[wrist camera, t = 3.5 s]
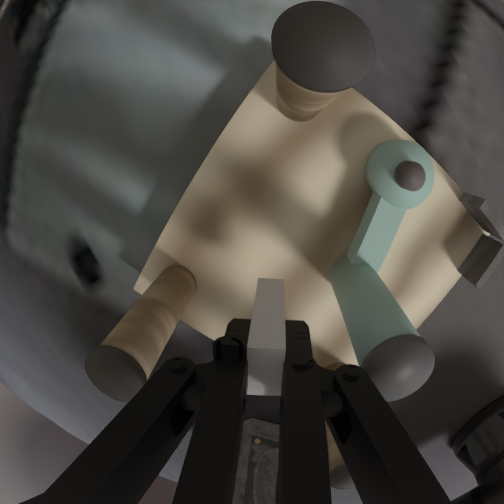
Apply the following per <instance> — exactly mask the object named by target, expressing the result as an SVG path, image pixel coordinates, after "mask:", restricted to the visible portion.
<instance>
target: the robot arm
mask: <svg viewBox="0 0 504 504" xmlns="http://www.w3.org/2000/svg"><path fill="white" fill-rule="evenodd" d="M213 354H214V360H213V361H212V362H209V363H206V364H199V365H194V363H193V361H192V360H190V359H188V358H185V357H174V358H172V359H169V360H168V361H166V362H165V363H164V364H163V365H162V366H161V367H160V369H159V370H158V371H157V372H156V373H155V374H154V375H153V376H152V377H151V378H150V379H149V381H148V382H147V383H146V384H145V385H144V386H143V387H142V388H141V389H140V390H139V391H138V393H137V394H136V395H135V396H134V397H133V398H132V399H131V400H130V401H129V402H128V403H127V405H126V406H125V407H124V408H123V409H122V410H121V411H120V412H119V413H118V414H117V415H116V416H115V418H114V419H113V420H112V421H111V422H110V423H109V424H108V425H107V426H106V427H105V428H104V429H103V431H102V432H101V433H100V434H99V435H98V436H97V437H96V438H95V439H94V440H93V441H92V442H91V443H90V444H89V446H88V447H87V448H86V449H85V450H84V451H83V452H82V453H81V454H80V455H79V456H78V457H77V458H76V459H75V461H74V462H73V463H72V464H71V465H70V466H69V467H68V468H67V469H66V470H65V471H64V472H63V473H62V474H61V476H59V478H58V479H57V480H56V481H55V482H54V483H53V484H52V485H51V486H50V487H49V488H48V489H47V490H46V491H45V492H44V493H43V494H40V495H38V496H36V497H34V498H31V499H29V500H27V501H24V502H22V503H19V504H137V503H138V502H139V501H140V500H141V498H142V497H143V495H144V494H145V493H146V491H147V490H148V488H149V487H150V486H151V484H152V483H153V481H154V480H155V478H156V477H157V476H158V474H159V473H160V471H161V470H162V469H163V467H164V466H165V464H166V463H167V461H168V460H169V458H170V457H171V455H172V454H173V453H174V451H175V450H176V448H177V447H178V445H179V444H180V442H181V441H182V439H183V438H184V436H185V435H186V433H187V432H188V430H189V429H190V427H191V426H192V424H193V423H194V421H195V420H196V422H195V426H194V429H193V433H192V436H191V439H190V443H189V446H188V450H187V453H186V457H185V460H184V464H183V467H182V471H181V474H180V478H179V481H178V485H177V488H176V492H175V495H174V498H173V502H172V504H232V501H233V495H234V488H235V481H236V474H237V467H238V461H239V453H240V446H241V439H242V432H243V425H244V418H245V410H246V395H264V396H281V402H280V410H279V416H280V427H279V455H278V478H277V497H276V504H332V502H331V488H330V475H329V464H328V453H327V443H326V433H325V424H324V417H325V420H326V422H327V425H328V427H329V429H330V431H331V434H332V436H333V438H334V440H335V442H336V445H337V447H338V449H339V451H340V453H341V456H342V458H343V460H344V462H345V465H346V467H347V469H348V471H349V473H350V476H351V478H352V480H353V482H354V485H355V487H356V489H357V491H358V493H359V496H360V498H361V500H362V502H363V504H504V396H503V397H501V398H499V399H498V400H496V401H494V402H493V403H491V404H490V405H489V406H487V407H486V408H485V409H483V410H482V411H481V412H479V413H478V414H477V415H476V416H475V417H474V418H472V419H471V420H470V421H469V422H468V423H467V424H466V425H465V426H464V427H463V428H462V430H461V431H460V432H459V433H458V434H457V436H456V437H455V439H454V441H453V444H452V448H453V451H454V453H455V456H456V457H457V458H458V459H459V460H460V461H461V462H462V463H463V464H464V465H465V466H466V467H467V468H468V469H469V470H470V471H471V472H472V473H473V474H474V476H475V478H476V481H477V483H478V486H477V487H475V488H474V489H472V490H470V491H469V492H467V493H465V494H463V495H461V496H460V497H458V498H456V499H454V500H452V501H450V500H449V498H448V496H447V495H446V493H445V491H444V490H443V488H442V487H441V485H440V483H439V482H438V480H437V479H436V477H435V476H434V474H433V472H432V471H431V469H430V468H429V466H428V465H427V463H426V461H425V460H424V458H423V457H422V455H421V454H420V452H419V451H418V449H417V447H416V446H415V444H414V443H413V441H412V440H411V438H410V437H409V435H408V434H407V432H406V431H405V429H404V428H403V426H402V425H401V423H400V422H399V420H398V419H397V417H396V416H395V414H394V413H393V411H392V410H391V408H390V407H389V405H388V404H387V402H386V401H385V399H384V398H383V396H382V395H381V393H380V392H379V390H378V389H377V387H376V386H375V384H374V383H373V381H372V380H371V379H370V377H369V376H368V374H367V373H366V371H365V370H364V369H363V368H361V367H359V366H357V365H353V364H344V365H342V366H339V367H338V368H337V369H336V371H334V370H329V369H326V368H323V367H321V366H319V365H318V364H317V363H316V361H315V359H314V358H313V352H312V345H311V339H310V331H309V326H308V325H307V323H306V322H305V321H304V320H285V295H284V279H270V278H258V282H257V288H256V294H255V301H254V307H253V313H252V319H239V318H233V319H232V320H231V321H230V322H229V323H228V325H227V328H226V332H225V336H222V337H219V338H217V339H216V340H215V341H214V342H213ZM196 418H197V419H196Z"/></svg>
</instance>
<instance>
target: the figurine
mask: <svg viewBox="0 0 504 504" xmlns="http://www.w3.org/2000/svg"><path fill="white" fill-rule="evenodd" d="M279 427H280V425H278V424H274V423H271V422H266V421H261V420H258V419H255V418H251V419H248V420H245V421H244V425H243V432H242V439H241V446H240V453H239V461H238V467H237V474H236V481H235V488H234V495H233V501H232V504H276V497H277V478H278V455H279Z"/></svg>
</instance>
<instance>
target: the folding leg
mask: <svg viewBox="0 0 504 504" xmlns="http://www.w3.org/2000/svg"><path fill="white" fill-rule="evenodd" d="M402 161H414V162H417V163H419V164H420V165H421V166H422V167H423V168H424V171H425V174H426V180H425V183H424V185H423V187H422V188H421V189H420V190H418V191H409V190H406V189H403V188H401V187H400V186H399V185H398V184H397V182H396V180H395V169H396V167H397V165H398V164H399V163H400V162H402ZM365 176H366V181H367V184H368V186H369V188H370V189H371V191H372V192H373V193H372V196H371V198H370V201H369V203H368V206H367V208H366V211H365V213H364V215H363V218H362V220H361V223H360V225H359V227H358V230H357V232H356V234H355V237H354V239H353V241H352V243H351V246H350V248H349V250H348V252H347V255H346V256H343V257H341V258H340V259H339V260H337V261H336V262H335V264H334V265H333V267H332V269H331V271H330V282H331V285H332V288H333V290H334V293H335V296H336V299H337V302H338V304H339V307H340V310H341V313H342V316H343V319H344V322H345V325H346V328H347V331H348V334H349V337H350V340H351V343H352V346H353V349H354V352H355V355H356V358H357V362H358V365H359V367H361V368H363V369H364V370H365V371H366V373H367V374H368V376H369V377H370V379H371V380H372V381H373V383H374V384H375V386H376V387H377V389H378V390H379V392H380V393H381V395H382V396H383V398H384V399H385V401H386V402H389V401H395V400H399V399H402V398H404V397H406V396H408V395H410V394H412V393H414V392H415V391H416V390H418V389H419V388H420V387H421V386H422V385H423V384H424V383H425V382H426V381H427V380H428V378H429V377H430V375H431V373H432V371H433V369H434V365H435V357H434V354H433V352H432V350H431V349H430V347H429V345H428V344H427V342H426V341H425V340H424V339H423V338H422V337H420V335H419V334H418V332H417V331H416V329H415V328H414V326H413V325H412V323H411V322H410V320H409V319H408V317H407V316H406V314H405V313H404V311H403V310H402V308H401V307H400V305H399V304H398V302H397V301H396V299H395V298H394V297H393V295H392V294H391V292H390V291H389V289H388V288H387V287H386V285H385V284H384V282H383V281H382V280H381V278H380V277H379V275H378V272H379V270H380V268H381V266H382V263H383V261H384V259H385V257H386V255H387V253H388V251H389V249H390V246H391V244H392V242H393V240H394V238H395V235H396V233H397V231H398V229H399V226H400V224H401V222H402V219H403V217H404V214H405V212H406V210H407V209H411V208H414V207H417V206H418V205H420V204H421V203H423V202H424V201H425V200H426V199H427V197H428V196H429V194H430V193H431V190H432V188H433V184H434V167H433V163H432V161H431V158H430V157H429V155H428V153H427V152H426V151H425V150H424V149H423V148H422V147H421V146H420V145H418V144H417V143H415V142H412V141H409V140H390V141H385V142H382V143H380V144H378V145H377V146H376V147H375V148H373V150H372V151H371V152H370V154H369V156H368V158H367V161H366V165H365Z"/></svg>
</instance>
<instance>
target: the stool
mask: <svg viewBox="0 0 504 504" xmlns="http://www.w3.org/2000/svg"><path fill="white" fill-rule="evenodd" d="M271 42H272V52H273V56H274V60H273V62H272V63H271V64H270V66H269V67H268V68H267V70H266V71H265V72H264V74H263V75H262V76H261V78H260V79H259V80H258V82H257V83H256V84H255V86H254V87H253V89H252V90H251V91H250V93H249V94H248V95H247V97H246V98H245V100H244V101H243V103H242V104H241V105H240V107H239V108H238V110H237V111H236V113H235V114H234V116H233V117H232V118H231V120H230V121H229V123H228V124H227V126H226V127H225V129H224V130H223V132H222V133H221V135H220V136H219V138H218V139H217V141H216V143H215V144H214V146H213V147H212V149H211V150H210V152H209V153H208V155H207V157H206V158H205V160H204V161H203V163H202V165H201V166H200V168H199V169H198V171H197V173H196V174H195V176H194V178H193V179H192V181H191V183H190V184H189V186H188V188H187V189H186V191H185V193H184V195H183V196H182V198H181V200H180V201H179V203H178V205H177V207H176V208H175V210H174V212H173V214H172V215H171V217H170V219H169V221H168V223H167V224H166V226H165V228H164V230H163V232H162V234H161V235H160V237H159V239H158V241H157V243H156V245H155V247H154V249H153V250H152V252H151V254H150V256H149V258H148V260H147V262H146V264H145V266H144V268H143V270H142V272H141V274H140V276H139V278H138V280H137V282H136V284H135V286H134V288H133V289H134V290H135V291H137V292H138V293H140V294H141V297H140V298H139V299H138V300H137V301H136V302H135V304H134V305H133V306H132V307H131V308H130V309H129V311H128V312H127V313H126V314H125V315H124V317H123V318H122V319H121V320H120V321H119V323H118V324H117V325H116V326H115V327H114V329H113V330H112V331H111V332H110V333H109V335H108V336H107V337H106V338H105V340H104V341H103V342H102V343H101V344H100V346H98V347H96V348H95V349H94V350H93V351H92V352H91V354H90V355H89V356H88V357H87V359H86V361H85V369H86V373H87V375H88V377H89V378H90V380H91V381H92V383H93V384H94V385H95V386H96V387H97V388H98V389H99V390H100V391H101V392H103V393H104V394H106V395H107V396H109V397H111V398H113V399H115V400H118V401H121V402H129V401H130V400H131V399H132V398H133V397H134V396H135V395H136V394H137V393H138V391H139V390H140V389H141V388H142V387H143V386H144V385H145V384H146V383H147V380H148V378H149V376H150V374H151V372H152V370H153V368H154V367H155V365H156V363H157V361H158V359H159V357H160V355H161V353H162V351H163V350H164V348H165V346H166V344H167V342H168V340H169V338H170V337H171V335H172V333H173V331H174V329H175V327H176V326H177V324H178V322H179V320H181V321H182V322H184V323H186V324H187V325H189V326H191V327H192V328H194V329H195V330H197V331H199V332H200V333H202V334H204V335H205V336H207V337H209V338H210V339H212V340H214V341H215V340H216V339H217V338H219V337H222V336H225V332H226V328H227V325H228V323H229V322H230V321H231V320H232V319H233V318H239V319H252V313H253V307H254V301H255V294H256V288H257V282H258V278H270V279H284V295H285V320H304V321H305V322H306V323H307V325H308V326H309V331H310V339H311V345H312V352H313V358H314V359H315V361H316V363H317V364H318V365H319V366H321V367H323V368H326V369H329V370H334V371H336V369H337V368H338V367H339V366H342V365H344V364H353V365H357V366H359V365H358V362H357V358H356V355H355V352H354V349H353V346H352V343H351V340H350V337H349V334H348V331H347V328H346V325H345V322H344V319H343V316H342V313H341V310H340V307H339V304H338V302H337V299H336V296H335V293H334V290H333V288H332V285H331V282H330V271H331V269H332V267H333V265H334V264H335V262H336V261H337V260H339V259H340V258H341V257H343V256H346V255H347V252H348V250H349V248H350V246H351V243H352V241H353V239H354V237H355V234H356V232H357V230H358V227H359V225H360V223H361V220H362V218H363V215H364V213H365V211H366V208H367V206H368V203H369V201H370V198H371V196H372V193H373V192H372V191H371V189H370V188H369V186H368V184H367V181H366V176H365V165H366V161H367V158H368V156H369V154H370V152H371V151H372V150H373V148H375V147H376V146H377V145H378V144H380V143H382V142H385V141H390V140H409V141H412V142H415V143H417V142H416V141H415V140H414V139H413V138H412V137H410V136H409V135H408V134H407V133H406V132H405V131H404V130H403V129H402V128H401V127H400V126H398V125H397V124H396V123H395V122H394V121H393V120H392V119H390V118H389V117H388V116H387V115H386V114H384V113H383V112H382V111H381V110H380V109H378V108H377V107H376V106H375V105H374V104H372V103H371V102H370V101H368V100H367V99H366V98H365V97H363V96H362V95H361V94H359V93H358V92H357V91H355V90H354V89H353V88H351V87H352V86H354V85H356V84H357V83H358V82H359V81H361V80H362V79H363V78H364V77H365V76H366V75H367V74H368V73H369V71H370V70H371V68H372V66H373V64H374V61H375V54H376V49H375V43H374V39H373V36H372V34H371V32H370V30H369V29H368V27H367V26H366V24H365V23H364V22H363V21H362V20H361V19H360V18H359V17H358V16H357V15H355V14H354V13H353V12H351V11H350V10H348V9H346V8H344V7H342V6H340V5H337V4H334V3H330V2H324V1H308V2H303V3H299V4H297V5H294V6H292V7H290V8H288V9H287V10H286V11H284V12H283V13H282V14H281V15H280V16H279V18H278V19H277V20H276V22H275V24H274V27H273V30H272V35H271ZM417 144H418V143H417ZM418 145H419V144H418ZM428 155H429V154H428ZM429 157H430V158H431V161H432V163H433V167H434V184H433V188H432V190H431V193H430V194H429V196H428V197H427V199H426V200H425V201H424V202H423V203H421V204H420V205H418V206H417V207H414V208H411V209H407V210H406V212H405V214H404V217H403V219H402V222H401V224H400V226H399V229H398V231H397V233H396V235H395V238H394V240H393V242H392V244H391V246H390V249H389V251H388V253H387V255H386V257H385V259H384V261H383V263H382V266H381V268H380V270H379V272H378V275H379V277H380V278H381V280H382V281H383V282H384V284H385V285H386V287H387V288H388V289H389V291H390V292H391V294H392V295H393V297H394V298H395V299H396V301H397V302H398V304H399V305H400V307H401V308H402V310H403V311H404V313H405V314H406V316H407V317H408V319H409V320H410V322H411V323H412V325H413V326H414V328H415V329H417V328H418V327H419V326H420V325H421V324H422V323H423V321H424V320H425V319H426V318H427V317H428V316H429V315H430V313H431V312H432V311H433V310H434V309H435V308H436V306H437V305H438V304H439V303H440V302H441V301H442V299H443V298H444V297H445V296H446V294H447V293H448V292H449V291H450V289H451V288H452V287H453V286H454V284H455V283H456V282H457V280H458V279H459V278H460V277H461V275H462V276H463V277H465V278H466V279H467V280H468V281H469V282H470V283H472V284H473V285H474V286H475V287H476V288H477V289H479V290H480V289H481V288H482V286H483V285H484V284H485V282H486V281H487V279H488V278H489V277H490V275H491V274H492V272H493V271H494V269H495V268H496V267H497V265H498V264H499V262H500V261H501V259H502V258H503V256H504V245H503V244H502V243H500V242H498V241H496V240H494V239H493V238H491V237H489V235H490V234H492V235H494V236H495V237H497V238H499V239H501V240H503V241H504V225H503V224H502V222H501V221H500V219H499V218H498V216H497V215H496V213H495V212H494V211H493V209H492V208H491V206H490V205H489V204H488V202H487V201H486V200H485V199H483V198H480V197H477V196H474V195H471V194H468V193H464V192H463V191H462V190H461V189H460V187H459V186H458V185H457V184H456V183H455V182H454V181H453V179H452V178H451V177H450V176H449V175H448V174H447V173H446V172H445V171H444V170H443V168H442V167H441V166H440V165H439V164H438V163H437V162H436V161H435V160H434V159H433V158H432V157H431V156H430V155H429ZM395 180H396V182H397V184H398V185H399V186H400V187H401V188H403V189H406V190H409V191H418V190H420V189H421V188H422V187H423V185H424V183H425V180H426V174H425V171H424V168H423V167H422V166H421V165H420V164H419V163H417V162H414V161H402V162H400V163H399V164H398V165H397V167H396V169H395ZM325 425H326V434H327V443H328V453H329V463H330V474H329V475H330V486H331V487H333V488H336V489H350V488H355V485H354V482H353V480H352V478H351V476H350V473H349V471H348V469H347V467H346V465H345V462H344V460H343V458H342V456H341V453H340V451H339V449H338V447H337V445H336V442H335V440H334V438H333V436H332V434H331V431H330V429H329V427H328V425H327V422H326V420H325Z"/></svg>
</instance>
